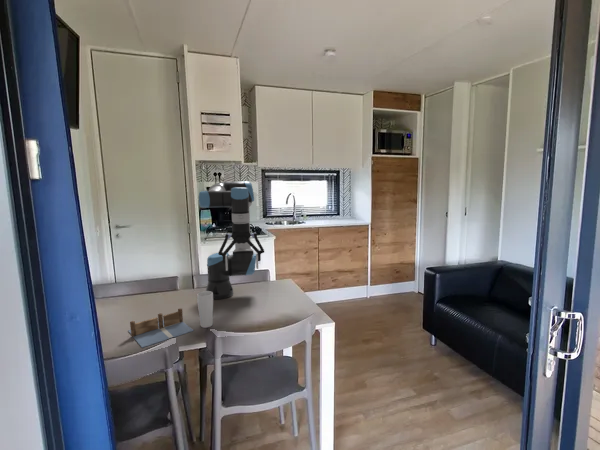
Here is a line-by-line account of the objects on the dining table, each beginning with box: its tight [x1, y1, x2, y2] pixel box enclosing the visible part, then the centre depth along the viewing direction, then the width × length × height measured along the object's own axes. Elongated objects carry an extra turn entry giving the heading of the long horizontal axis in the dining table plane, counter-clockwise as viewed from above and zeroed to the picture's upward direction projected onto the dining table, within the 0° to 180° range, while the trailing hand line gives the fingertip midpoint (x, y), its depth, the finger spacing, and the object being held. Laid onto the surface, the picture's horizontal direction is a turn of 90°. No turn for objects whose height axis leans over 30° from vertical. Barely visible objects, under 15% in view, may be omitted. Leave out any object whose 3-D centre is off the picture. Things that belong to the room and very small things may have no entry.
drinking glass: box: [196, 290, 214, 329], centre depth 147 cm, size 7×7×15 cm
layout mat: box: [127, 319, 194, 349], centre depth 143 cm, size 19×21×1 cm
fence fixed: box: [163, 307, 184, 327], centre depth 148 cm, size 2×8×6 cm, turn 132°
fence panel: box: [129, 313, 164, 338], centre depth 141 cm, size 13×2×6 cm, turn 132°
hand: (242, 269), depth 150 cm, fingers open, 13 cm apart
